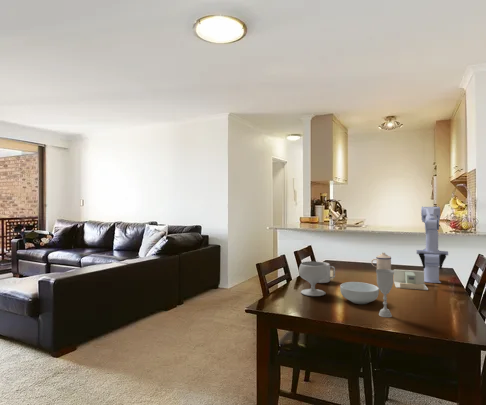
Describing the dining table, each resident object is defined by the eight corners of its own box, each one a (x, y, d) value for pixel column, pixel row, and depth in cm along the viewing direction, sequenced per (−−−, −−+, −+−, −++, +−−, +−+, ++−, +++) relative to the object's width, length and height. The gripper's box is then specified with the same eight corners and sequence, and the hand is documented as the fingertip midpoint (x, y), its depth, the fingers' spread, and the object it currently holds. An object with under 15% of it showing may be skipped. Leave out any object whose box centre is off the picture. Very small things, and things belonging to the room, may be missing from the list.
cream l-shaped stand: (393, 281, 190) (393, 269, 190) (423, 283, 185) (423, 271, 185) (396, 287, 178) (395, 274, 177) (428, 290, 173) (428, 276, 172)
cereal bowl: (353, 309, 145) (353, 292, 145) (333, 298, 161) (333, 283, 161) (387, 305, 150) (387, 289, 150) (364, 294, 166) (364, 280, 166)
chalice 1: (315, 288, 179) (315, 260, 179) (333, 295, 166) (333, 264, 166) (293, 291, 173) (293, 262, 173) (310, 299, 160) (309, 267, 160)
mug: (310, 282, 191) (310, 265, 191) (311, 278, 201) (311, 261, 201) (335, 283, 188) (335, 265, 187) (334, 279, 198) (334, 262, 198)
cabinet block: (405, 282, 186) (404, 271, 186) (413, 283, 185) (413, 272, 185) (407, 287, 177) (407, 275, 177) (415, 287, 176) (415, 276, 176)
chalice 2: (390, 312, 141) (389, 268, 140) (398, 317, 134) (397, 272, 134) (372, 312, 140) (372, 269, 140) (379, 318, 134) (379, 272, 133)
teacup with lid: (391, 269, 221) (391, 252, 221) (391, 272, 213) (391, 254, 213) (371, 268, 226) (371, 251, 226) (371, 271, 217) (371, 253, 217)
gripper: (417, 242, 177) (417, 268, 177) (449, 243, 172) (449, 270, 172) (415, 241, 184) (416, 266, 184) (446, 242, 179) (446, 268, 178)
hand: (432, 268), depth 178 cm, fingers open, 7 cm apart
